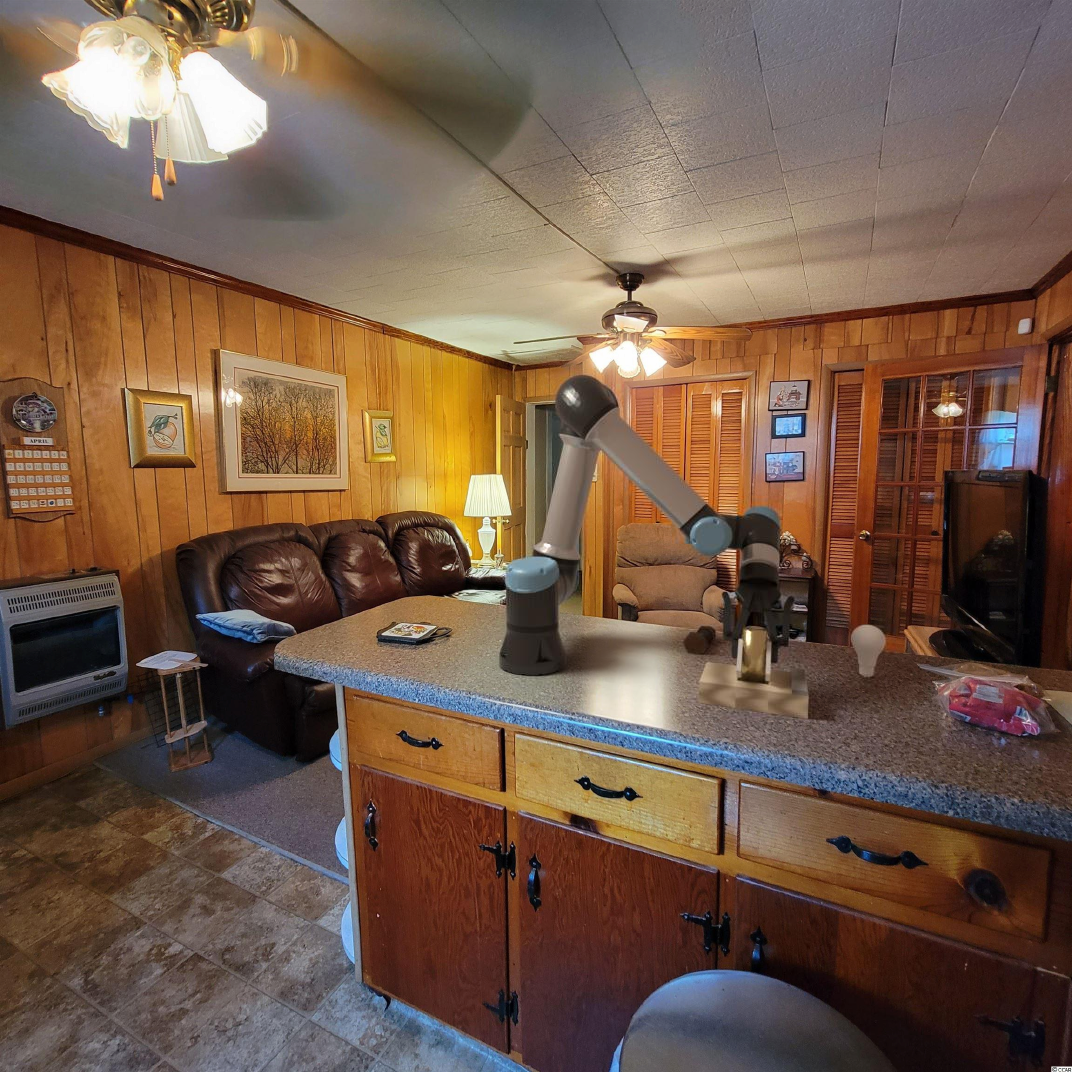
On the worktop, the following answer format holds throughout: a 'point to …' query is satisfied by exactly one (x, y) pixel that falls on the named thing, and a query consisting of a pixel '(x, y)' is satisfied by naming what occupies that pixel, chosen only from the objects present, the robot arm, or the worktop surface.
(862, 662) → the lightbulb
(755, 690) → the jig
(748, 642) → the brass cylinder
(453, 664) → the worktop surface
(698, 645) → the bolt
